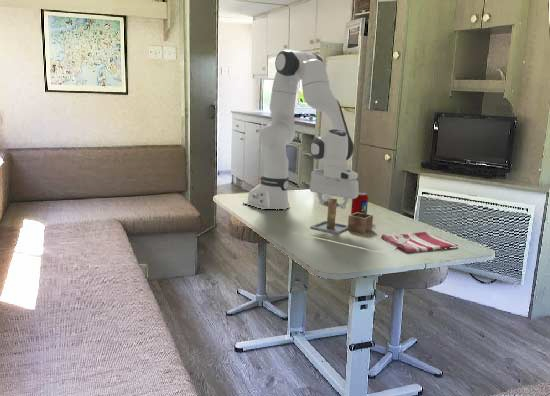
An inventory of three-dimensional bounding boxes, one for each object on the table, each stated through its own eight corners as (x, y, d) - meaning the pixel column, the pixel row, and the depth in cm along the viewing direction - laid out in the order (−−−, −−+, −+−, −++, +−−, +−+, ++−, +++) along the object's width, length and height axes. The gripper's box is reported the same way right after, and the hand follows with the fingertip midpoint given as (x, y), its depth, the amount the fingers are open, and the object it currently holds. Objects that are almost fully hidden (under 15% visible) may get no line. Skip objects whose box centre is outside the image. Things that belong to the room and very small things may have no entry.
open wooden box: (347, 231, 202) (348, 215, 200) (355, 227, 208) (356, 212, 206) (364, 235, 198) (365, 218, 196) (371, 231, 204) (373, 215, 202)
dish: (310, 229, 201) (310, 226, 201) (324, 223, 211) (324, 220, 211) (337, 235, 195) (337, 232, 195) (350, 229, 205) (350, 226, 205)
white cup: (321, 198, 259) (323, 179, 257) (336, 200, 257) (338, 180, 255) (318, 201, 252) (319, 181, 250) (333, 203, 250) (335, 183, 248)
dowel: (325, 228, 203) (327, 198, 200) (328, 226, 205) (331, 197, 202) (332, 229, 201) (334, 200, 198) (335, 227, 203) (338, 198, 201)
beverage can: (365, 222, 216) (368, 195, 214) (350, 221, 217) (352, 193, 215) (366, 218, 223) (368, 192, 220) (350, 217, 224) (353, 190, 221)
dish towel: (379, 240, 193) (379, 234, 193) (429, 236, 202) (429, 230, 201) (405, 254, 178) (406, 247, 177) (458, 249, 187) (459, 243, 186)
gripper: (307, 169, 201) (305, 203, 204) (354, 176, 190) (351, 212, 193) (315, 167, 206) (313, 200, 209) (361, 174, 195) (358, 209, 198)
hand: (332, 206), depth 201 cm, fingers open, 8 cm apart
